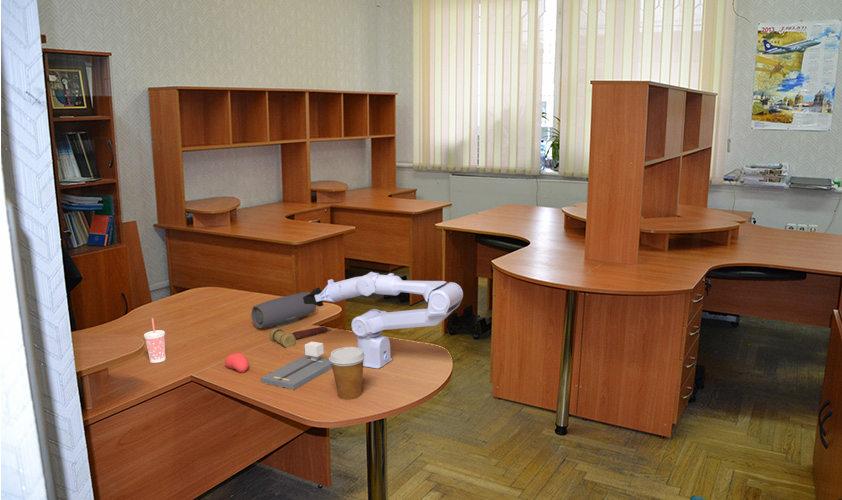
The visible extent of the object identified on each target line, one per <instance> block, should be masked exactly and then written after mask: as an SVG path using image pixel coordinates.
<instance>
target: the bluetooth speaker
mask: <svg viewBox="0 0 842 500" xmlns="http://www.w3.org/2000/svg"><path fill="white" fill-rule="evenodd" d="M310 293H311V292H309V291H303V292H299V293H293V294H288V295H285V296H281V297H278V298H274V299H270V300H266V301H264V302H261V303H258V304H256V305H253V307H252V308H251V313H250V316H251V320H252V323H253V324H254V326H255V327H256V328H257V329H263V328H268V327H274V328H279V327H284V326H287V325H289V324H290V325H291V324H293V323H296V322H298V321H299V319H300V318H303V317H306V316H309V315H311V314H313V313H314V312H316V309H317V306H316V305H314V304H305V303H304V300H303V297H304V296H306V295H308V294H310Z"/></svg>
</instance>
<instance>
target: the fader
mask: <svg viewBox="0 0 842 500" xmlns="http://www.w3.org/2000/svg"><path fill="white" fill-rule="evenodd" d="M304 352H305V354H304V355H309V356H311V360H312V361H317V360H318V359H319V357H321V356H322V355H324V343H323V342H317V341H310V342H308V343H305V344H304Z"/></svg>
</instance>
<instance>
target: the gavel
mask: <svg viewBox="0 0 842 500" xmlns="http://www.w3.org/2000/svg"><path fill="white" fill-rule="evenodd" d="M331 330H332V329H331V327H327V326H318V327H313V328H308V329H307V328H306V329H303V330H298V331H294V332H291V333H287V332H284V331H283V330H282V329H281V328H279V327H274V328H273V329H272V330H271V331H270V333H269V338H270V340H271V341H272V342H274V343H278V344H281V345H282V347H284V348H286V349H287V347H288V348H292V347H294V346H295V345H296V342H297V340H299V339H305V338H308V337H309V336H310V337H313V335H314V336H317V334H318V335H322V334H325V333H327V331H331ZM321 333H322V334H321ZM291 346H292V347H291Z"/></svg>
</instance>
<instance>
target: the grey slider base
mask: <svg viewBox="0 0 842 500" xmlns="http://www.w3.org/2000/svg"><path fill="white" fill-rule="evenodd" d="M331 369H332V364H331V362H330V360H329V358H327V357H321V356H319V359H318V360H317V361H312V360H311V356H309V355H305V354H304V355H302V356H301V357H299V358H296V359H295V360H293V361H291V362H289V363H287V364H285V365H283V366H282V367H279V368H277V369H275V370H273V371H271V372H270V373H267V374H266V375H264V376H262V377H260V381H261V382H263V383H262V384H264V383H267V384H266V385H269V384H271V386H273V385H276V386H275V387H278V386H281V387H280V388H282V387H285V388H284V389H287V388H289V390H291V389H295V390H296V388H297V387H298V388H300V387H302V386H304V385H305V384H307V383H309V382H311V381H312V380H314V379H315V378H317V377H319V376H321V375H323V374H324V373H326V372H328V371H330V370H331ZM308 381H309V382H308ZM301 385H302V386H301ZM299 386H300V387H299ZM298 388H297V389H298Z"/></svg>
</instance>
